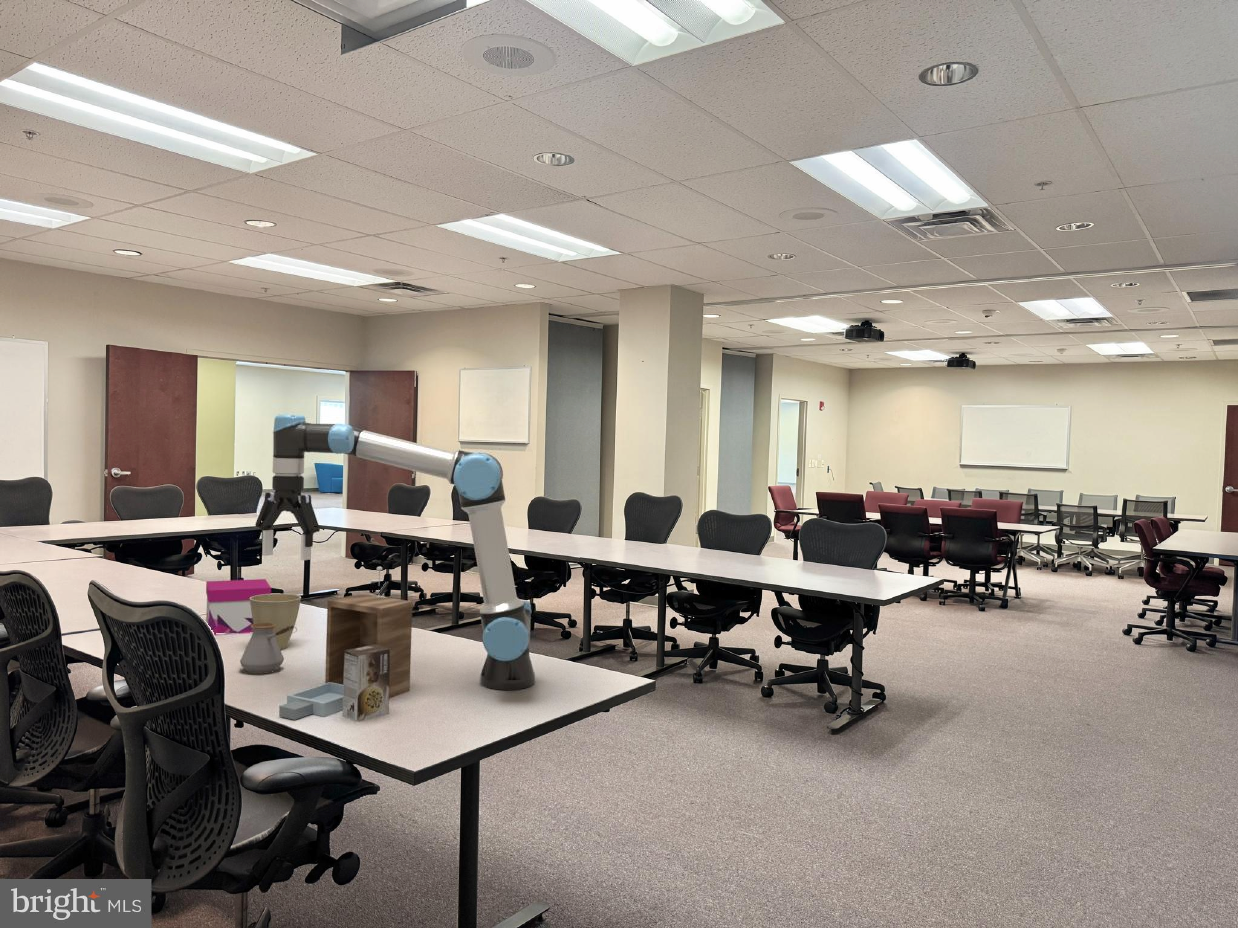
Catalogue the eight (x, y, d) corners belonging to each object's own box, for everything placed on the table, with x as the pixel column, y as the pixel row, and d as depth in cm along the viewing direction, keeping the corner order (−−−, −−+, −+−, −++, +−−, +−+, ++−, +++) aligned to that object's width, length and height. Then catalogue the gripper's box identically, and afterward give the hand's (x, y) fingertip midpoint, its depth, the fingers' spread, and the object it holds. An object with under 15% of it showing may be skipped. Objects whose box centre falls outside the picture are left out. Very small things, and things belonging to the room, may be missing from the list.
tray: (365, 701, 214) (365, 689, 214) (305, 723, 197) (306, 709, 197) (329, 694, 219) (329, 681, 219) (268, 714, 202) (268, 701, 202)
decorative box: (205, 624, 295) (206, 581, 295) (264, 620, 304) (265, 579, 304) (207, 635, 279) (208, 590, 278) (269, 631, 288) (271, 587, 287)
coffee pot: (231, 669, 239) (233, 617, 239) (270, 662, 249) (271, 611, 248) (272, 685, 226) (274, 629, 226) (311, 676, 235) (312, 623, 235)
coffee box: (373, 708, 210) (375, 643, 210) (389, 714, 206) (391, 648, 206) (341, 716, 203) (343, 649, 203) (356, 722, 199) (358, 654, 199)
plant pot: (288, 654, 258) (289, 602, 258) (239, 652, 259) (241, 600, 258) (307, 643, 273) (308, 594, 273) (261, 641, 274) (262, 592, 273)
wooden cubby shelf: (409, 691, 225) (412, 601, 225) (378, 702, 214) (381, 608, 214) (357, 681, 233) (360, 593, 232) (324, 691, 222) (327, 600, 222)
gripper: (335, 476, 216) (333, 560, 216) (265, 472, 227) (263, 551, 227) (312, 477, 209) (310, 563, 209) (242, 473, 220) (240, 554, 220)
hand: (286, 557), depth 218 cm, fingers open, 13 cm apart
